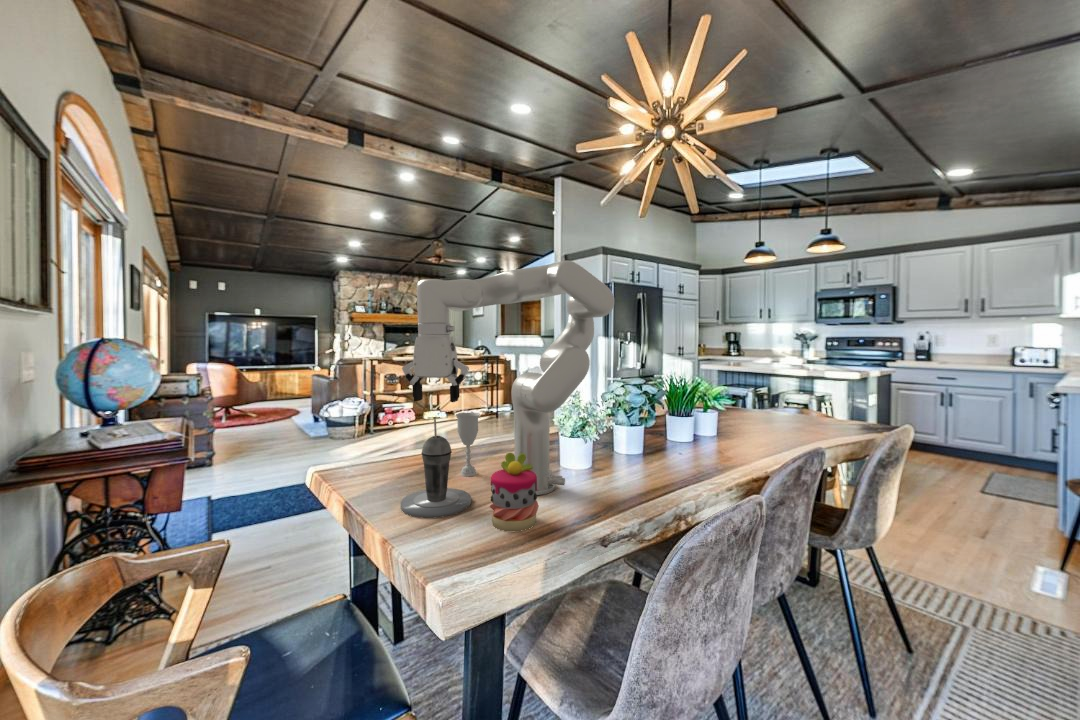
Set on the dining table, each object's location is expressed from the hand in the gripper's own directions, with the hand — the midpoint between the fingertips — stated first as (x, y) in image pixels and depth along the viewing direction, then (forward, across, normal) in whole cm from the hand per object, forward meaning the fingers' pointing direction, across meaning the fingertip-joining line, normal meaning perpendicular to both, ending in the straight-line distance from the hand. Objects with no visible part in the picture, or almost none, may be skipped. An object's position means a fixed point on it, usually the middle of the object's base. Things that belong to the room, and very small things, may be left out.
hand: (436, 400), depth 113 cm
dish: (+26, 0, 0) cm, 26 cm away
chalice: (+26, +2, -25) cm, 36 cm away
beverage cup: (+24, 0, +1) cm, 24 cm away
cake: (+26, -22, +6) cm, 34 cm away
